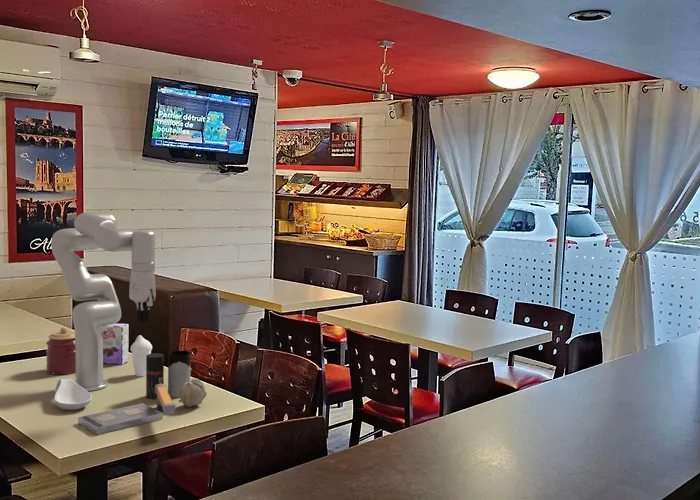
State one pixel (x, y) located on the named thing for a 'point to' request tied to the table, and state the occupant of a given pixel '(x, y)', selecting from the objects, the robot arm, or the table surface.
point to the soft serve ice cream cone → (140, 355)
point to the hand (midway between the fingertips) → (143, 321)
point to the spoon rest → (71, 395)
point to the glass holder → (178, 371)
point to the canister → (61, 352)
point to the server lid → (119, 418)
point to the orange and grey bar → (165, 399)
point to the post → (159, 405)
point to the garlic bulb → (192, 393)
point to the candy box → (115, 343)
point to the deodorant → (154, 373)
